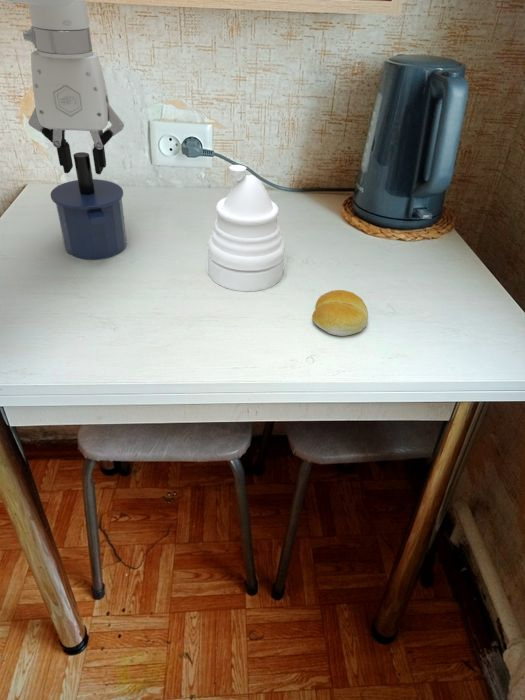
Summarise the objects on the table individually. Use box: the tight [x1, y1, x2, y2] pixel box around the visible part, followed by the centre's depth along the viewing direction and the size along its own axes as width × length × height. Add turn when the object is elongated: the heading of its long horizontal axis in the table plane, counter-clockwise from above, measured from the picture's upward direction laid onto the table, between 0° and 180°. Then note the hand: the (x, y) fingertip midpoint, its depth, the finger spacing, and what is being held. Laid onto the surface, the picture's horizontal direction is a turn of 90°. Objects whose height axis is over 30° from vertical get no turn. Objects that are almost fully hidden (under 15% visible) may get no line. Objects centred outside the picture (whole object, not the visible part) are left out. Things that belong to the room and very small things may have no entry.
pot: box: [55, 197, 128, 261], centre depth 89 cm, size 11×16×10 cm, turn 25°
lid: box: [50, 151, 124, 210], centre depth 84 cm, size 12×12×7 cm
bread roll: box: [311, 289, 369, 337], centre depth 77 cm, size 8×9×4 cm
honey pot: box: [207, 164, 285, 292], centre depth 82 cm, size 13×13×18 cm
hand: (84, 169), depth 83 cm, fingers open, 4 cm apart
